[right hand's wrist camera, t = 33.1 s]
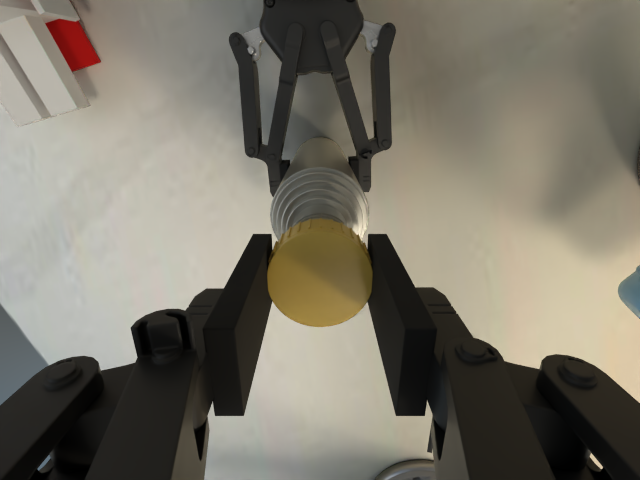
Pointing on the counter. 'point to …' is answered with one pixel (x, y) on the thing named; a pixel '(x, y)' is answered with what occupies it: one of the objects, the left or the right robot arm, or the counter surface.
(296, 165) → the bottle
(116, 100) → the counter surface
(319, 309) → the cap
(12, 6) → the toy
